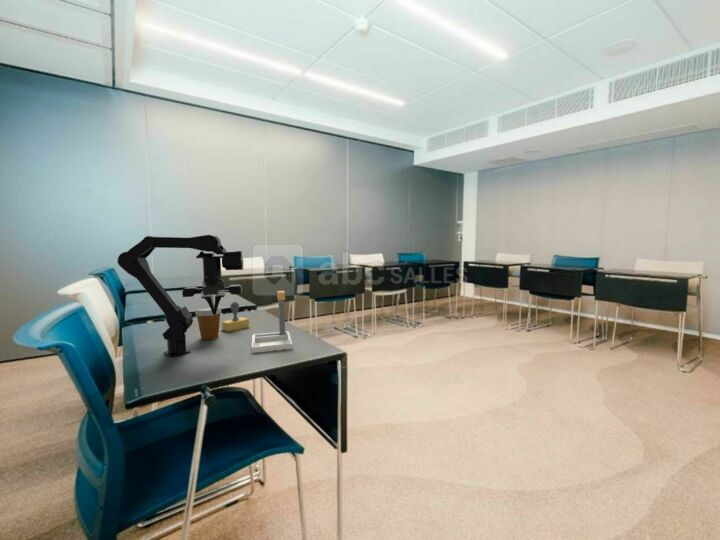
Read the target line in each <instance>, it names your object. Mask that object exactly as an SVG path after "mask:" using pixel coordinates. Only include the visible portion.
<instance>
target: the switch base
mask: <svg viewBox="0 0 720 540" xmlns="http://www.w3.org/2000/svg"><path fill="white" fill-rule="evenodd" d="M282 349H286V350H293V341H292V338H291V333H290V332H289V330H287V331H286V330H285V334H284V335H279V331H277V332H265V333H253V334H252V336H251V354H255V353H265V352H275V351H274V350H276V351H283V350H282Z"/></svg>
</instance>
